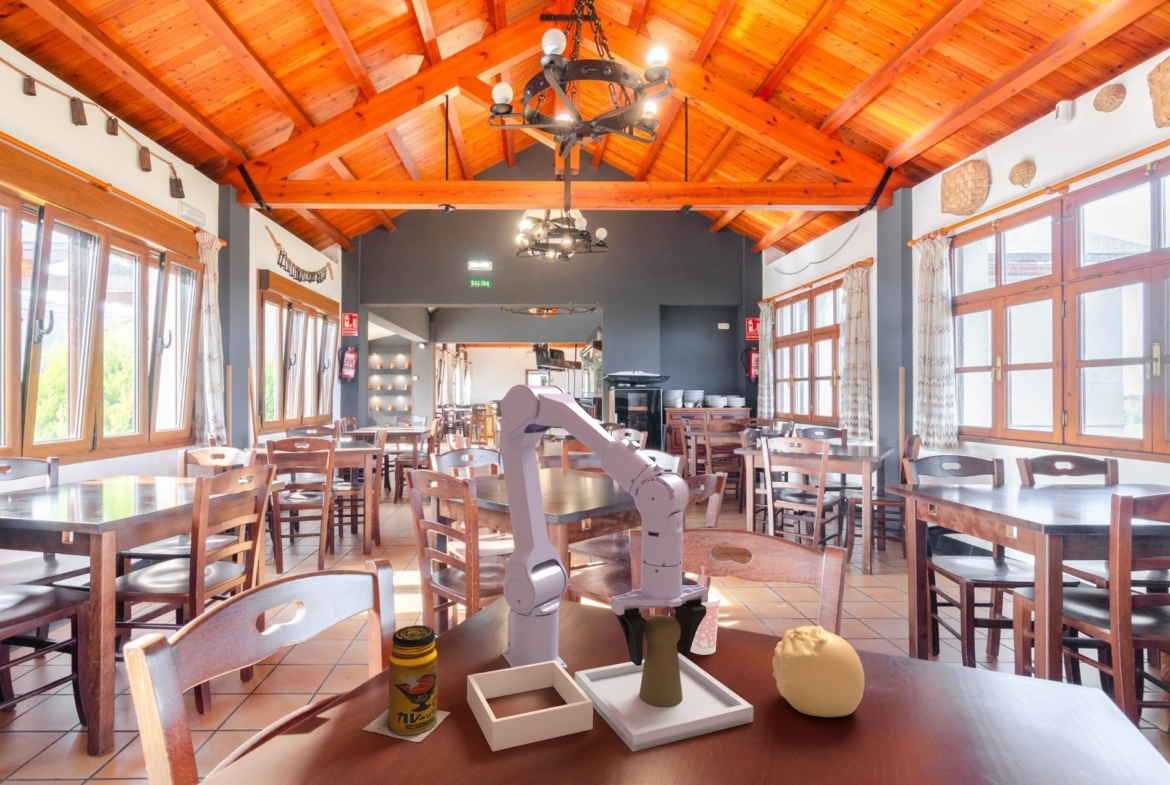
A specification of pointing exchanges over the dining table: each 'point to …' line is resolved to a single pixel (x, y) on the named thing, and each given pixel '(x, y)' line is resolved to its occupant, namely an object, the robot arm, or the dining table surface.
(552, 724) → the cream bin
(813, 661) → the sculpture
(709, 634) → the beverage cup
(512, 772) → the dining table surface
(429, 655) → the condiment
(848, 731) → the dining table surface
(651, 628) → the cork
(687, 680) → the light grey tray
